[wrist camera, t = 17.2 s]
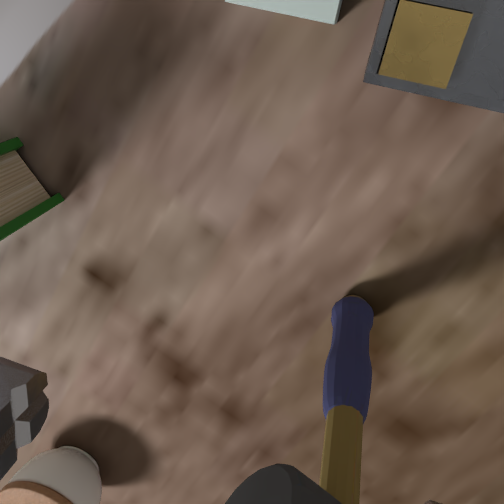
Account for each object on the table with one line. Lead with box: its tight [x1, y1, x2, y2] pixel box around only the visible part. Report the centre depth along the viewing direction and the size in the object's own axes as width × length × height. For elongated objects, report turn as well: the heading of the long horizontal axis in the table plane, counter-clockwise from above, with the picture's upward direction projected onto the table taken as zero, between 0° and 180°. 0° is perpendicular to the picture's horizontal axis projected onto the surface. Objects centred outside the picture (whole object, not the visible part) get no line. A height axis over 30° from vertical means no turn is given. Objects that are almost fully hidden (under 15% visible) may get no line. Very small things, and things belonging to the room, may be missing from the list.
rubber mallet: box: [225, 295, 374, 504], centre depth 33 cm, size 12×8×30 cm, turn 46°
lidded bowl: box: [0, 446, 102, 504], centre depth 64 cm, size 13×13×11 cm
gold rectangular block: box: [378, 0, 473, 89], centre depth 32 cm, size 4×4×6 cm
